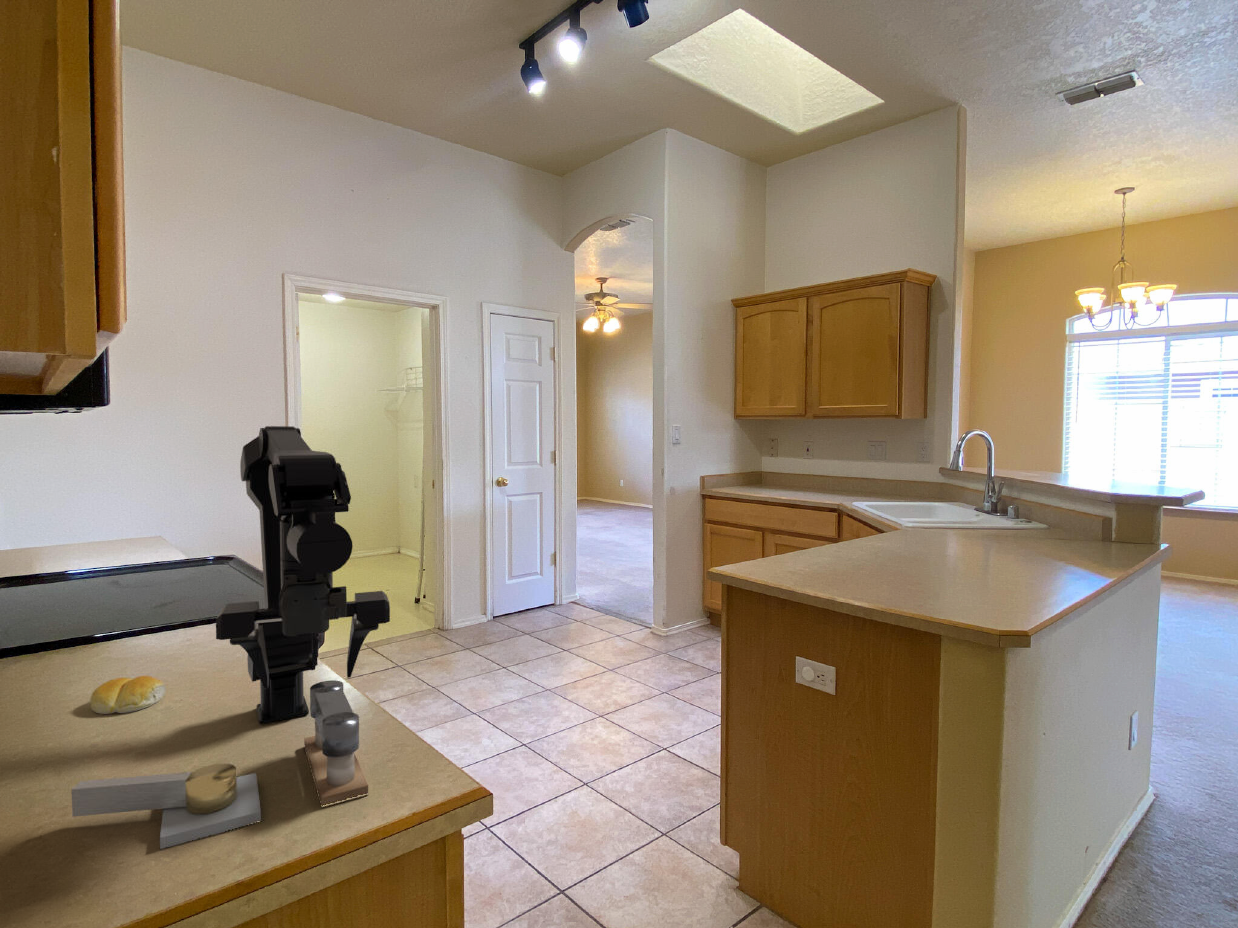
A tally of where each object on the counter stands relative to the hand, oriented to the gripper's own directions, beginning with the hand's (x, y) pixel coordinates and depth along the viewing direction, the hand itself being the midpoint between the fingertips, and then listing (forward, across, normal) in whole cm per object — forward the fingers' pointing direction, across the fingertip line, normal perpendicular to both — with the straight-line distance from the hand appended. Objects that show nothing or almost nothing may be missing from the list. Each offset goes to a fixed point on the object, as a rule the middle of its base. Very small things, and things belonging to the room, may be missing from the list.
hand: (308, 681), depth 81 cm
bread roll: (+12, -26, +31) cm, 42 cm away
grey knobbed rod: (+6, +3, -1) cm, 7 cm away
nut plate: (+11, -10, -6) cm, 16 cm away
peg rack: (+11, +3, -1) cm, 12 cm away
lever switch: (+10, -15, -4) cm, 18 cm away
